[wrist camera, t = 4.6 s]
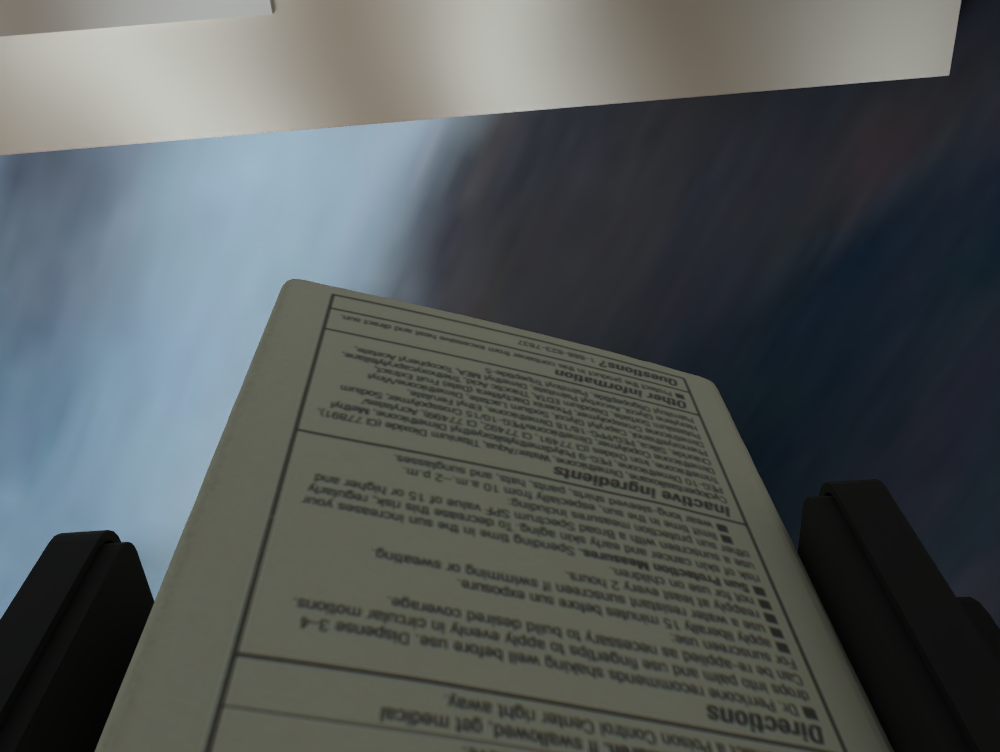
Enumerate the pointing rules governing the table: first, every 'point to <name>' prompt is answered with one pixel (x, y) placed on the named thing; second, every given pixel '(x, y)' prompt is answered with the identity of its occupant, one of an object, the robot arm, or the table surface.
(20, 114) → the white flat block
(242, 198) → the table surface
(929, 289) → the table surface
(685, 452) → the skincare box
